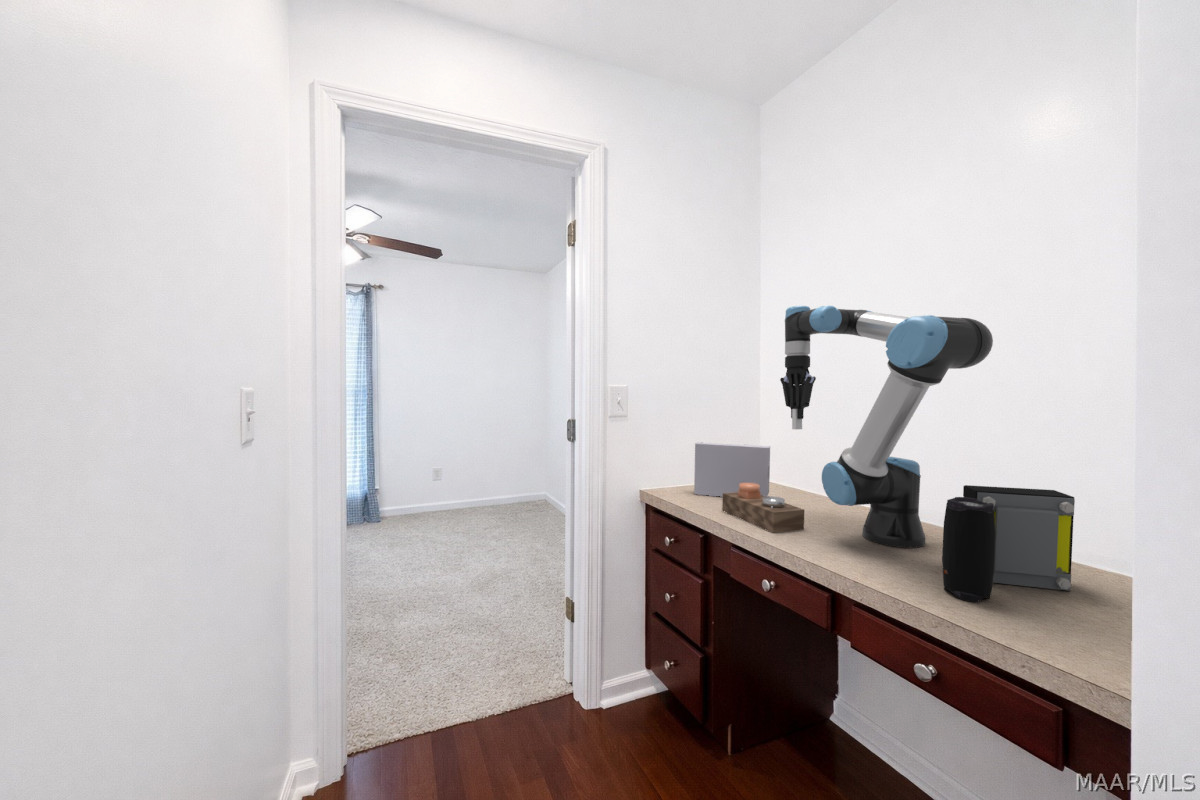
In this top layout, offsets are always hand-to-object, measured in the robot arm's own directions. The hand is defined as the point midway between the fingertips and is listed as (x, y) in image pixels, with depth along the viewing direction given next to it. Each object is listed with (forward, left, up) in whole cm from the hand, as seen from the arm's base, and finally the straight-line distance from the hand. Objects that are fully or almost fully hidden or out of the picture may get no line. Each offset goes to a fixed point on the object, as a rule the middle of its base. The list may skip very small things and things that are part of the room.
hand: (797, 429), depth 158 cm
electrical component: (-56, -11, -29) cm, 64 cm away
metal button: (-4, +12, -27) cm, 29 cm away
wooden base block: (+2, +12, -29) cm, 31 cm away
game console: (+32, +2, -29) cm, 43 cm away
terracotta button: (+8, +12, -25) cm, 28 cm away
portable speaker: (-58, +7, -29) cm, 65 cm away
